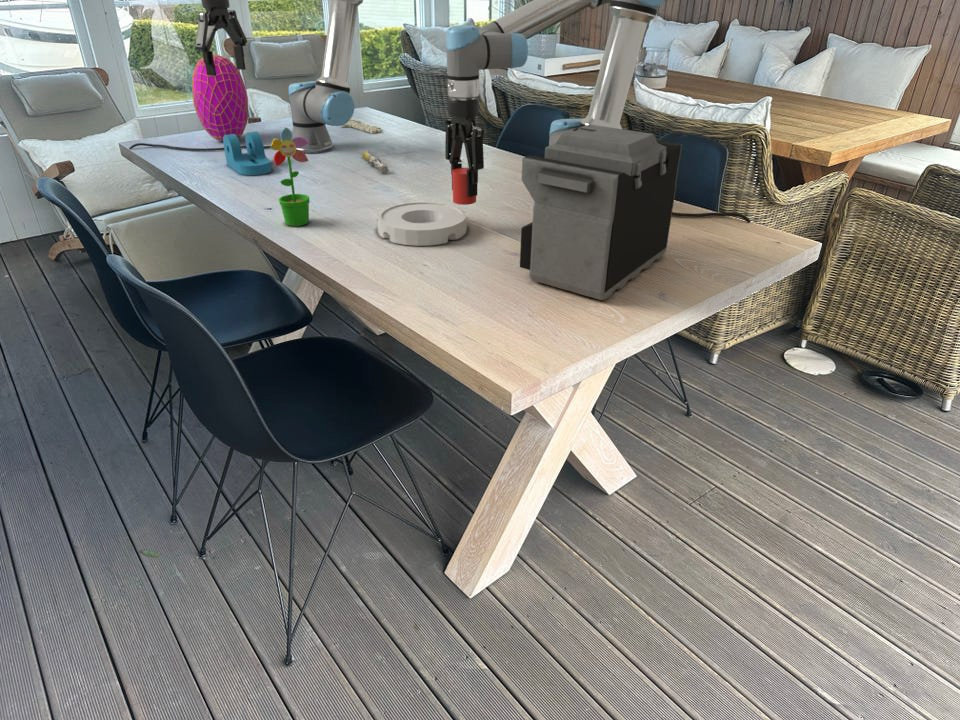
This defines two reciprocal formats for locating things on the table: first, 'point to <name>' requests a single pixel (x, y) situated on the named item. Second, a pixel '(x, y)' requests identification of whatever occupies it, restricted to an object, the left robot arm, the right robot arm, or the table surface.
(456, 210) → the ashtray
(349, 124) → the decorative sign
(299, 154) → the potted flower
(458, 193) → the canister
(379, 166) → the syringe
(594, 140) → the grey cooler box
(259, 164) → the camera mount
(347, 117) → the left robot arm
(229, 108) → the decorative egg
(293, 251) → the table surface
